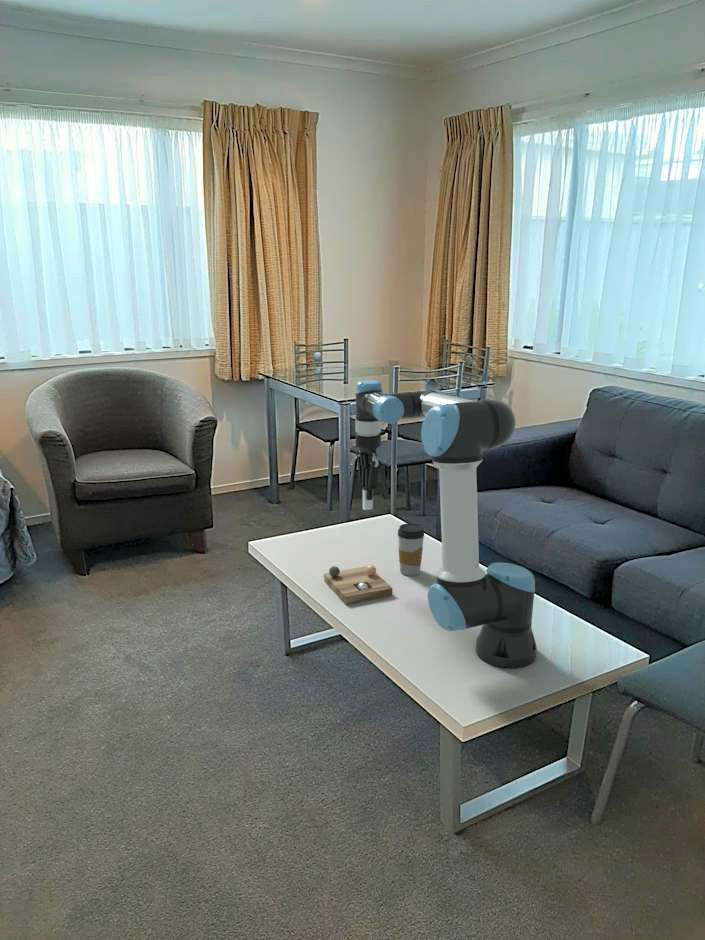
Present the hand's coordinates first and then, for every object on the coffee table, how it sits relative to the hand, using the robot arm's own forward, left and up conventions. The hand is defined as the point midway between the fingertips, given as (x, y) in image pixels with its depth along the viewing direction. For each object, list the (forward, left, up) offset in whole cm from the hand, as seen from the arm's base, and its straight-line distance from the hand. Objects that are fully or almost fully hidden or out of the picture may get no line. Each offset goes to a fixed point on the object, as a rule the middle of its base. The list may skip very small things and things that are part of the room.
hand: (367, 508), depth 226 cm
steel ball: (-10, +6, -21) cm, 24 cm away
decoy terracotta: (-5, +1, -18) cm, 19 cm away
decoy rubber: (-1, +11, -18) cm, 22 cm away
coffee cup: (-2, -14, -23) cm, 27 cm away
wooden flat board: (-7, +6, -22) cm, 24 cm away
